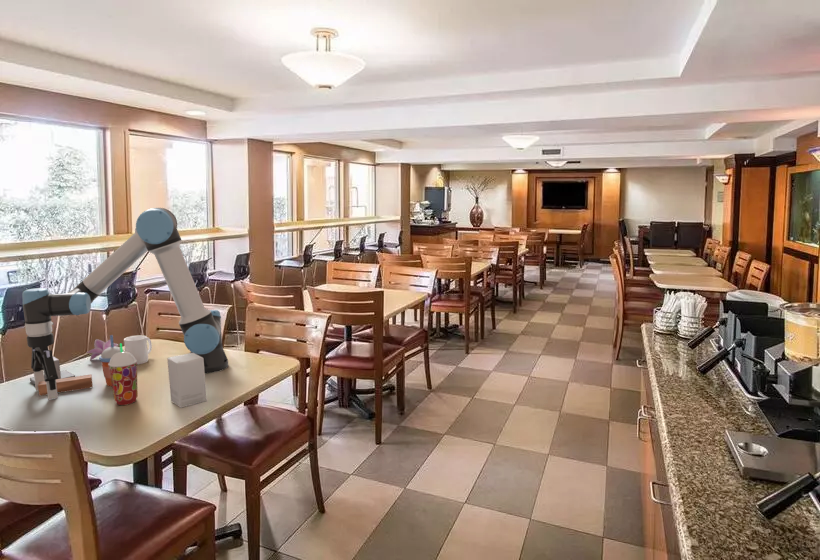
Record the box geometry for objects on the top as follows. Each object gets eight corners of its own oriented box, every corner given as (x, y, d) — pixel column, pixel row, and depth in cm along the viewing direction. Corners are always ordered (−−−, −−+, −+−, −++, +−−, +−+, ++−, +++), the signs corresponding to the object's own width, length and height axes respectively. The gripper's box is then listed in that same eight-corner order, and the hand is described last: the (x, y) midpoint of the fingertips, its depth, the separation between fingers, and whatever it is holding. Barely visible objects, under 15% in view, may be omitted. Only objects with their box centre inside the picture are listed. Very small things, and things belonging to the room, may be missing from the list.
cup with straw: (122, 377, 210) (117, 331, 207) (135, 382, 205) (130, 334, 202) (97, 384, 203) (92, 336, 200) (109, 389, 198) (104, 340, 195)
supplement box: (207, 401, 185) (204, 357, 183) (180, 408, 180) (176, 363, 177) (197, 394, 192) (193, 351, 190) (170, 400, 186) (166, 357, 184)
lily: (125, 357, 240) (115, 337, 241) (121, 353, 229) (111, 332, 230) (95, 370, 235) (86, 349, 236) (90, 367, 224) (80, 345, 225)
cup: (121, 363, 227) (119, 339, 226) (144, 355, 239) (142, 332, 237) (137, 365, 225) (134, 341, 223) (159, 357, 236) (157, 334, 234)
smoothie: (121, 397, 190) (115, 340, 187) (145, 397, 190) (139, 340, 186) (107, 406, 182) (100, 347, 178) (132, 406, 181) (126, 346, 178)
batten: (92, 388, 200) (91, 377, 200) (39, 396, 193) (37, 385, 192) (92, 384, 204) (91, 374, 203) (40, 393, 196) (38, 382, 195)
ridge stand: (75, 379, 209) (73, 357, 208) (38, 387, 200) (35, 364, 199) (66, 373, 216) (64, 352, 214) (30, 381, 207) (27, 359, 206)
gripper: (64, 337, 185) (71, 399, 188) (41, 326, 201) (47, 383, 205) (38, 342, 179) (45, 405, 183) (16, 330, 196) (23, 388, 199)
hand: (46, 393), depth 194 cm, fingers open, 13 cm apart
